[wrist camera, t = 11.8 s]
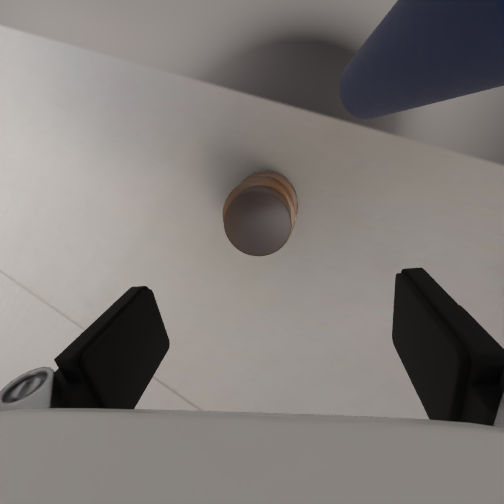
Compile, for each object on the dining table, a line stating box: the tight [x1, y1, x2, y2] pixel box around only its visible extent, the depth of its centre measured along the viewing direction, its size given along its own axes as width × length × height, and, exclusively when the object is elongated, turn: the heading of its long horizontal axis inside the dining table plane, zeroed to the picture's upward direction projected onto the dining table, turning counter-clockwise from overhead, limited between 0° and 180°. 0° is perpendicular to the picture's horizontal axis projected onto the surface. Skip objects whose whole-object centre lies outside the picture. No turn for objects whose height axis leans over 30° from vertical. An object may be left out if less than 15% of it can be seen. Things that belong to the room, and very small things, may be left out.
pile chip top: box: [223, 176, 295, 236], centre depth 23 cm, size 6×6×2 cm
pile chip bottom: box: [240, 170, 298, 218], centre depth 25 cm, size 6×6×2 cm
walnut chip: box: [224, 185, 292, 256], centre depth 21 cm, size 5×5×2 cm
